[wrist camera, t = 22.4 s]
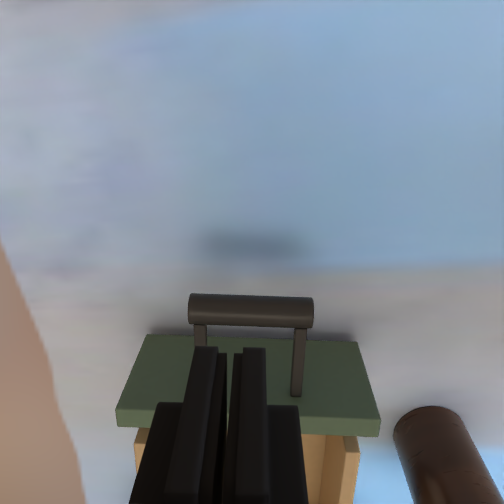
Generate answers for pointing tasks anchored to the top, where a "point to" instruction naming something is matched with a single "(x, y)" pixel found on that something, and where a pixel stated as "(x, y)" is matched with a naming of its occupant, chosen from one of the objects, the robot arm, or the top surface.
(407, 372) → the top surface
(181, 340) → the drawer
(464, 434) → the pepper mill
